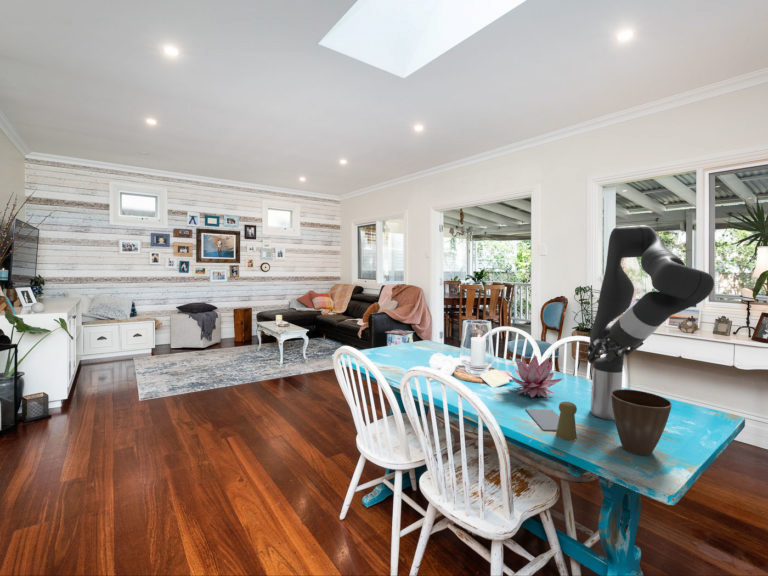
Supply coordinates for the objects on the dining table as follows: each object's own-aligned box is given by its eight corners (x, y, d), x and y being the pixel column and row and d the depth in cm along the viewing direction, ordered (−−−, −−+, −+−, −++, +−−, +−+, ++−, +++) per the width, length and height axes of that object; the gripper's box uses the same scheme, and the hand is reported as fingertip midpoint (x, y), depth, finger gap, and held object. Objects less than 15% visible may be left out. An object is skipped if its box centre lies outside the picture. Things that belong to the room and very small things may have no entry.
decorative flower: (497, 394, 159) (498, 359, 158) (518, 382, 175) (519, 350, 174) (550, 407, 145) (551, 369, 144) (567, 393, 161) (568, 359, 160)
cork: (574, 433, 123) (576, 400, 123) (578, 441, 118) (580, 407, 117) (554, 430, 125) (556, 398, 124) (557, 439, 119) (559, 405, 118)
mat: (525, 409, 142) (525, 408, 142) (552, 410, 142) (552, 409, 142) (543, 430, 125) (543, 429, 125) (573, 431, 125) (573, 430, 125)
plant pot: (643, 437, 121) (646, 389, 120) (681, 462, 106) (685, 407, 105) (598, 437, 120) (600, 389, 119) (629, 462, 105) (633, 407, 104)
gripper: (651, 313, 98) (613, 348, 111) (602, 314, 96) (569, 349, 109) (668, 337, 94) (627, 370, 106) (617, 338, 91) (581, 372, 104)
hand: (598, 359), depth 107 cm, fingers open, 5 cm apart
